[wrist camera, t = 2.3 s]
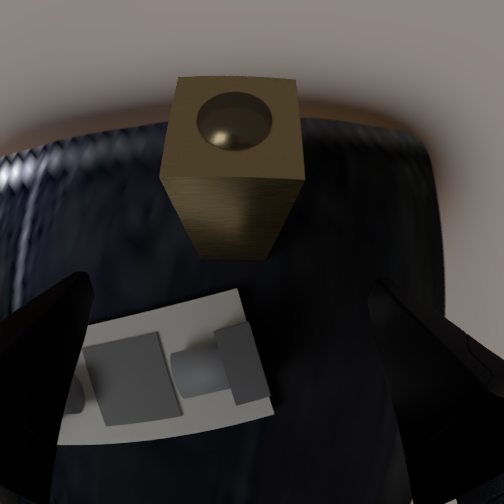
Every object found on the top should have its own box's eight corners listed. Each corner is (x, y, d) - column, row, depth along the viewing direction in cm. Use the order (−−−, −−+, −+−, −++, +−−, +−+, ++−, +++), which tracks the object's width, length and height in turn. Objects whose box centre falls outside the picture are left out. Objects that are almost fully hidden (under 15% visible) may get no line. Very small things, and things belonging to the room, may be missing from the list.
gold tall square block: (265, 259, 21) (306, 178, 9) (200, 258, 21) (158, 175, 9) (265, 199, 22) (296, 78, 10) (204, 198, 22) (178, 75, 10)
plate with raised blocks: (236, 289, 21) (237, 281, 16) (272, 409, 19) (281, 430, 15) (30, 339, 19) (-3, 339, 14) (60, 441, 17) (33, 457, 13)
